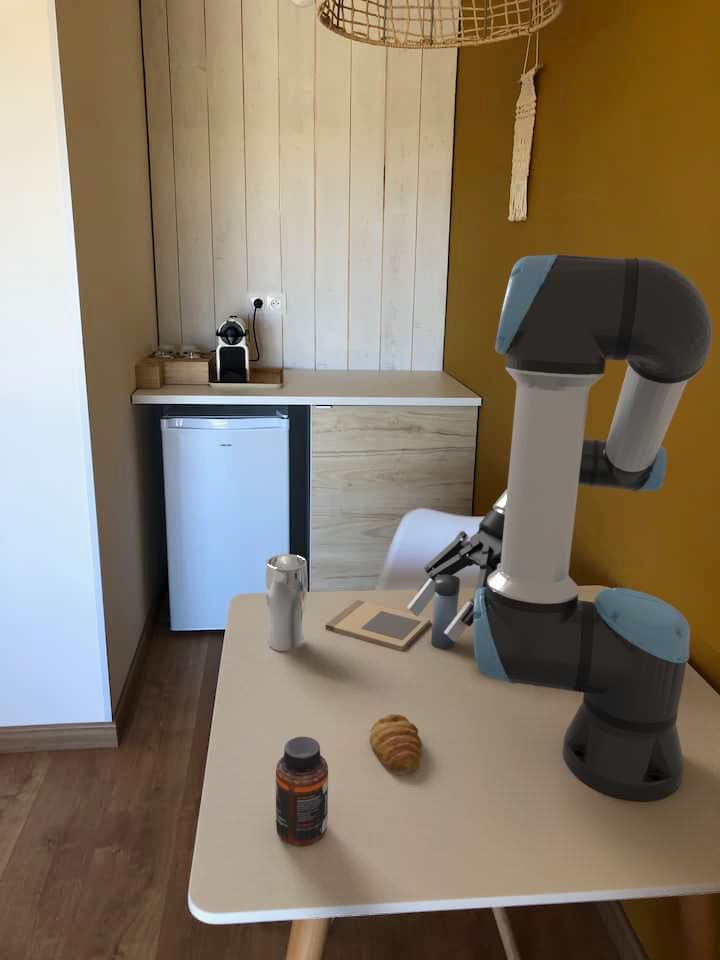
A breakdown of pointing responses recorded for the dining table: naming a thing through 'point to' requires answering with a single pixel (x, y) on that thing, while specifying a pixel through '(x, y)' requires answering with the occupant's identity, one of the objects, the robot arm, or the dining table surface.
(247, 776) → the dining table surface
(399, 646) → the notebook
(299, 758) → the supplement bottle
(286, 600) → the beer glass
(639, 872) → the dining table surface
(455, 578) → the blue bottle
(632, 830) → the dining table surface
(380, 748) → the pastry
